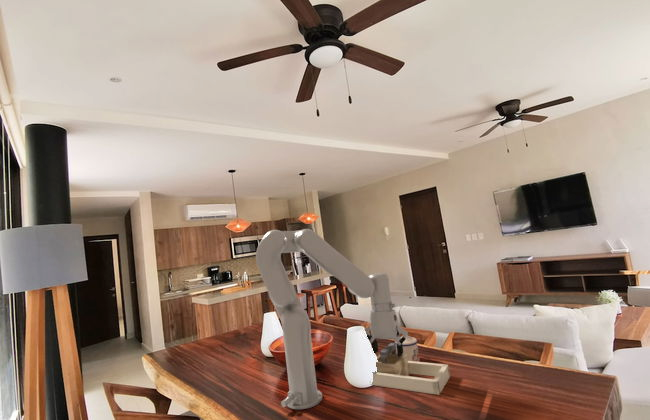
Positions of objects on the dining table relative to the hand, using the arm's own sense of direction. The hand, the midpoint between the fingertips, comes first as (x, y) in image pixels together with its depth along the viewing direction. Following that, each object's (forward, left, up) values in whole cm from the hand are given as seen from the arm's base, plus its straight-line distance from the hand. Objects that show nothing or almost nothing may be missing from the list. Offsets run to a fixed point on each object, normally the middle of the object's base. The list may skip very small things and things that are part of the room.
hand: (387, 354), depth 121 cm
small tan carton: (0, 0, -9) cm, 9 cm away
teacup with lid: (+19, 0, -10) cm, 22 cm away
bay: (0, -7, -10) cm, 12 cm away
